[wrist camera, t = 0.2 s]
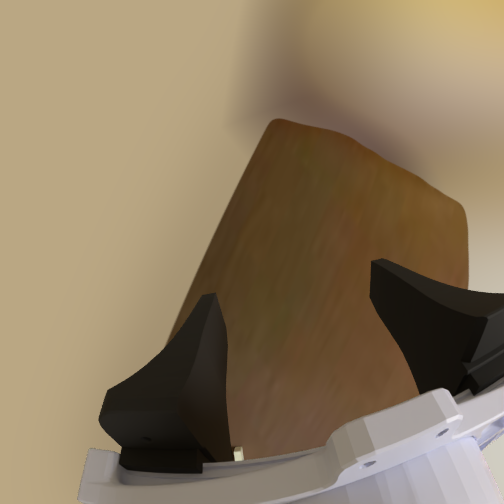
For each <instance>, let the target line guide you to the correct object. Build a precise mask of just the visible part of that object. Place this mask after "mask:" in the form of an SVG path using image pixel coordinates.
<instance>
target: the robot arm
mask: <svg viewBox="0 0 504 504" xmlns="http://www.w3.org/2000/svg"><path fill="white" fill-rule="evenodd" d="M370 299H371V301H372V303H373V305H374V307H375V309H376V311H377V313H378V315H379V317H380V318H381V320H382V321H383V323H384V324H385V326H386V327H387V329H388V330H389V332H390V333H391V335H392V336H393V338H394V339H395V341H396V342H397V344H398V345H399V347H400V349H401V351H402V352H403V354H404V357H405V359H406V361H407V363H408V365H409V367H410V370H411V372H412V375H413V377H414V380H415V382H416V385H417V388H418V391H419V394H420V395H419V396H417V397H414V398H412V399H410V400H407V401H405V402H402V403H400V404H397V405H394V406H392V407H389V408H386V409H383V410H381V411H378V412H375V413H372V414H369V415H366V416H363V417H360V418H358V419H355V420H353V421H351V422H348V423H346V424H344V425H343V426H341V427H340V428H338V429H337V430H335V431H334V432H333V433H332V434H331V436H330V438H329V439H328V441H327V442H326V446H323V447H319V448H314V449H310V450H305V451H300V452H295V453H290V454H285V455H279V456H273V457H266V458H259V459H251V460H242V461H233V457H232V451H231V443H230V435H229V426H228V416H227V404H226V371H227V351H228V344H227V331H226V325H225V322H224V319H223V316H222V312H221V309H220V306H219V302H218V299H217V296H216V293H211V294H206V295H202V296H201V298H200V299H199V301H198V303H197V304H196V306H195V307H194V309H193V311H192V312H191V314H190V315H189V317H188V318H187V320H186V321H185V323H184V324H183V326H182V327H181V328H180V330H179V331H178V332H177V334H176V335H175V336H174V338H173V339H172V340H171V341H170V342H169V343H168V345H167V346H166V347H165V348H164V349H163V350H162V351H161V352H160V353H159V354H158V355H157V356H156V357H154V358H153V359H152V360H151V361H150V362H149V363H148V364H147V365H145V366H144V367H143V368H142V369H140V370H139V371H138V372H136V373H135V374H134V375H132V376H131V377H129V378H128V379H126V380H125V381H123V382H121V383H119V384H118V385H116V386H114V387H112V388H111V389H109V390H107V393H106V396H105V399H104V402H103V405H102V409H101V412H100V415H99V423H100V425H101V427H102V428H103V429H104V430H105V432H106V433H107V434H108V435H109V436H111V437H112V438H113V439H114V440H115V441H116V442H117V443H118V444H119V445H120V446H121V447H122V449H121V454H119V453H117V452H114V451H109V450H101V449H94V448H90V449H89V450H88V454H87V458H86V462H85V466H84V470H83V475H82V479H81V483H80V488H79V493H78V497H77V499H78V501H80V502H81V503H83V504H504V500H503V498H502V495H501V493H500V490H499V488H498V486H497V484H496V482H495V479H494V477H493V475H492V473H491V471H490V468H489V466H488V465H487V463H486V460H485V458H484V456H483V454H482V453H481V451H482V450H483V449H485V448H486V447H487V446H489V445H490V444H491V443H493V442H494V441H495V440H496V439H498V438H499V437H500V436H501V435H503V434H504V293H486V292H478V291H471V290H467V289H462V288H458V287H454V286H450V285H447V284H444V283H441V282H438V281H435V280H432V279H430V278H427V277H425V276H422V275H420V274H418V273H415V272H413V271H411V270H409V269H407V268H404V267H402V266H400V265H398V264H396V263H393V262H391V261H389V260H386V259H383V258H382V259H378V260H373V261H371V280H370Z"/></svg>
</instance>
